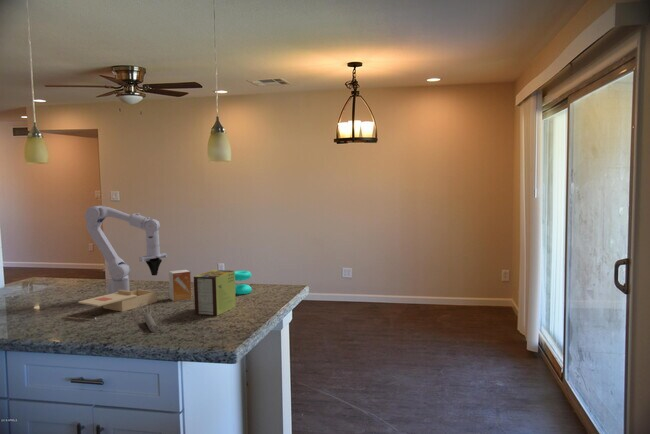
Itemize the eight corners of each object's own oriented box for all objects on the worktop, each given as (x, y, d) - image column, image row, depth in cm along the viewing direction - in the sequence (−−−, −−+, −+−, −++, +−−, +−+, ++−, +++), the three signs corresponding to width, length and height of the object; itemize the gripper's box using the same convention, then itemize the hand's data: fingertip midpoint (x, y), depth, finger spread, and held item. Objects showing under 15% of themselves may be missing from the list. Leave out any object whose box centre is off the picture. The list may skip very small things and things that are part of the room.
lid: (78, 303, 203) (77, 298, 203) (117, 293, 219) (117, 289, 219) (98, 306, 197) (98, 301, 197) (136, 296, 213) (136, 291, 212)
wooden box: (103, 309, 213) (102, 297, 212) (138, 300, 228) (137, 289, 228) (122, 312, 207) (122, 300, 206) (157, 303, 222) (156, 291, 222)
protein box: (236, 306, 214) (235, 270, 213) (217, 316, 199) (215, 277, 198) (214, 305, 217) (213, 269, 216) (194, 314, 203) (192, 276, 202)
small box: (173, 302, 223) (172, 273, 222) (169, 299, 228) (168, 271, 227) (191, 299, 227) (190, 271, 226) (187, 297, 233) (186, 269, 232)
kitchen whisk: (146, 335, 176) (145, 317, 176) (133, 314, 206) (132, 298, 206) (164, 333, 179) (163, 315, 179) (148, 312, 209) (148, 297, 209)
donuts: (232, 270, 244) (252, 270, 244) (232, 290, 245) (253, 290, 245) (227, 274, 234) (249, 273, 234) (228, 295, 235) (249, 295, 235)
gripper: (146, 248, 223) (147, 278, 224) (171, 244, 235) (172, 273, 236) (135, 247, 226) (136, 277, 227) (160, 243, 239) (161, 272, 240)
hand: (154, 275), depth 232 cm, fingers closed
